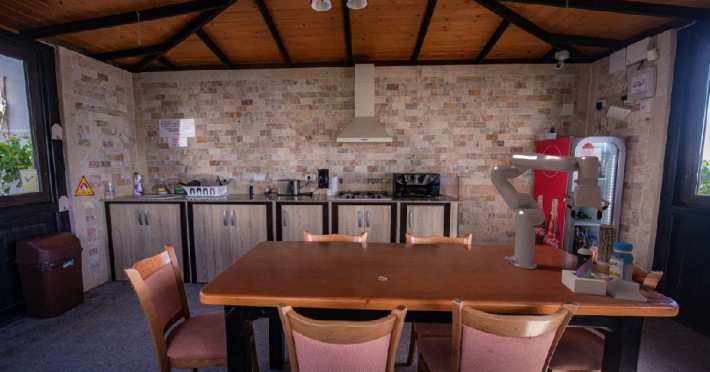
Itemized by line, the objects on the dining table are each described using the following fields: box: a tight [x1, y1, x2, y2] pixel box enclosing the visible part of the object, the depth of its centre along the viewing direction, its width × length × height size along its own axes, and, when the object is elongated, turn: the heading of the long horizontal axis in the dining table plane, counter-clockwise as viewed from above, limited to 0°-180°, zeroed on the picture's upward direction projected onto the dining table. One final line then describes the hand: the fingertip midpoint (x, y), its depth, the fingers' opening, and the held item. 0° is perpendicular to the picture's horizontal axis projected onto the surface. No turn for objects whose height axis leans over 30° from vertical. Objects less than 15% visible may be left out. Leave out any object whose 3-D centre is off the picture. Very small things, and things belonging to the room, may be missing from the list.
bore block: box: [561, 269, 608, 296], centre depth 135 cm, size 12×12×6 cm
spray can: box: [575, 244, 594, 279], centre depth 135 cm, size 6×6×20 cm
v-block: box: [606, 278, 648, 303], centre depth 130 cm, size 11×11×6 cm
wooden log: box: [595, 223, 618, 275], centre depth 157 cm, size 7×7×25 cm
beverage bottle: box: [607, 241, 635, 282], centre depth 140 cm, size 8×8×20 cm
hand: (585, 219), depth 140 cm, fingers open, 9 cm apart
